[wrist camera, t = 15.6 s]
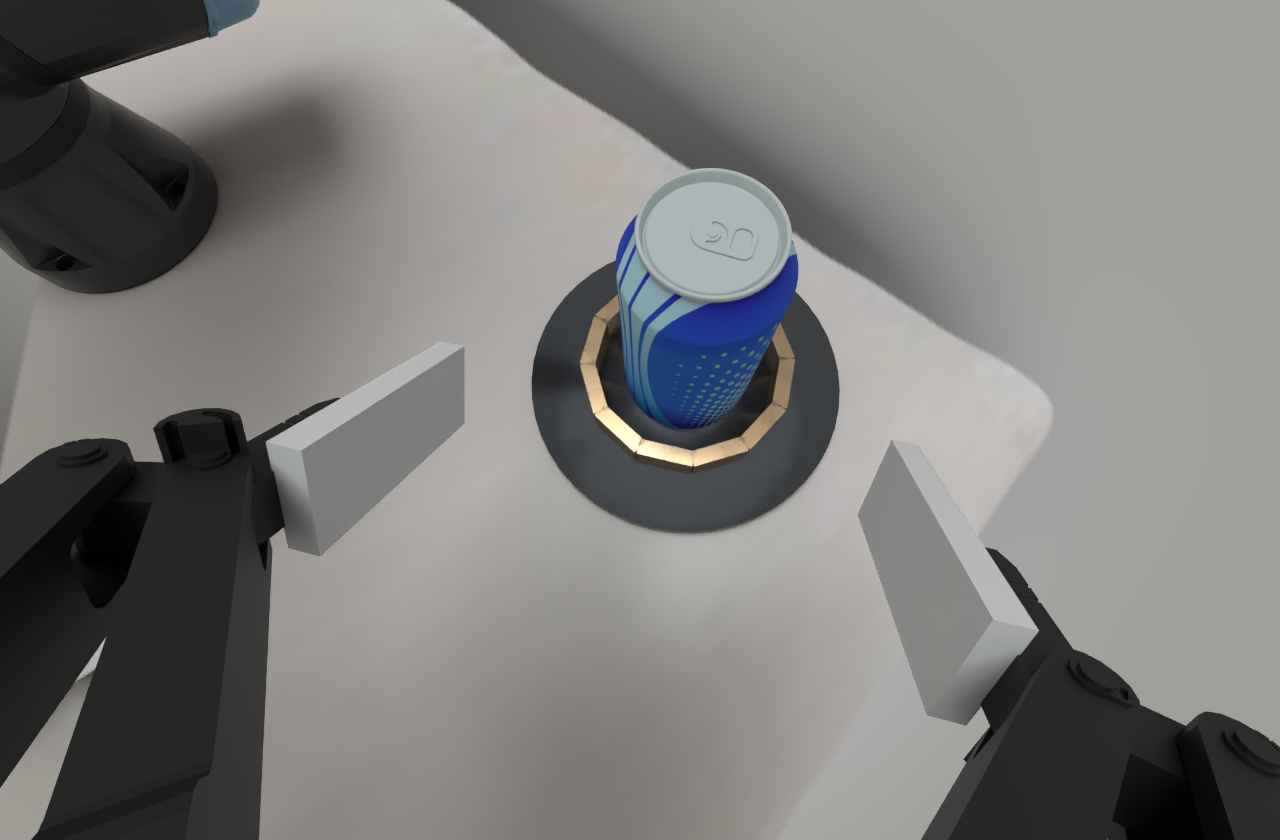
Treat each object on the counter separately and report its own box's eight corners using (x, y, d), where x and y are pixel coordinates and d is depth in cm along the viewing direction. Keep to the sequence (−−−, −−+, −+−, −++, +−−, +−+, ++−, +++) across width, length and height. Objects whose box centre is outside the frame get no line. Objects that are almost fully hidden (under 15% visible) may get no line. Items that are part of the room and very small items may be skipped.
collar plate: (473, 386, 37) (456, 367, 34) (674, 207, 42) (676, 175, 39) (695, 605, 32) (701, 607, 29) (894, 375, 37) (919, 355, 34)
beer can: (666, 457, 35) (684, 357, 19) (604, 361, 37) (575, 204, 22) (766, 396, 36) (857, 257, 21) (700, 307, 38) (737, 122, 23)
